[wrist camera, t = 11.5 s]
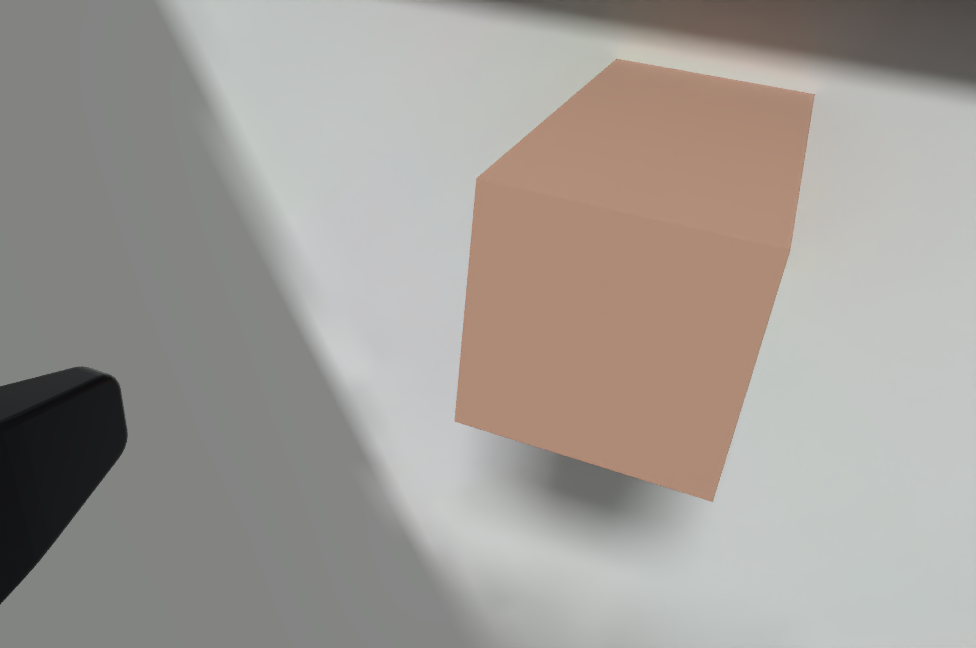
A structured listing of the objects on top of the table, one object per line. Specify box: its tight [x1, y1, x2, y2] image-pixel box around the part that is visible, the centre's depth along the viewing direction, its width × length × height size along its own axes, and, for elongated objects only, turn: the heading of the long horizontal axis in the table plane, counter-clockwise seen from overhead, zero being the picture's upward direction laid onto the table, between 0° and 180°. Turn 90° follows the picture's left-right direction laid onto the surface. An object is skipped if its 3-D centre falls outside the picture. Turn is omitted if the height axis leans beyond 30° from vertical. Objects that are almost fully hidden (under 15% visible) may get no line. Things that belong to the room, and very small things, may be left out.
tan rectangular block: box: [455, 59, 815, 502], centre depth 15 cm, size 4×4×8 cm
